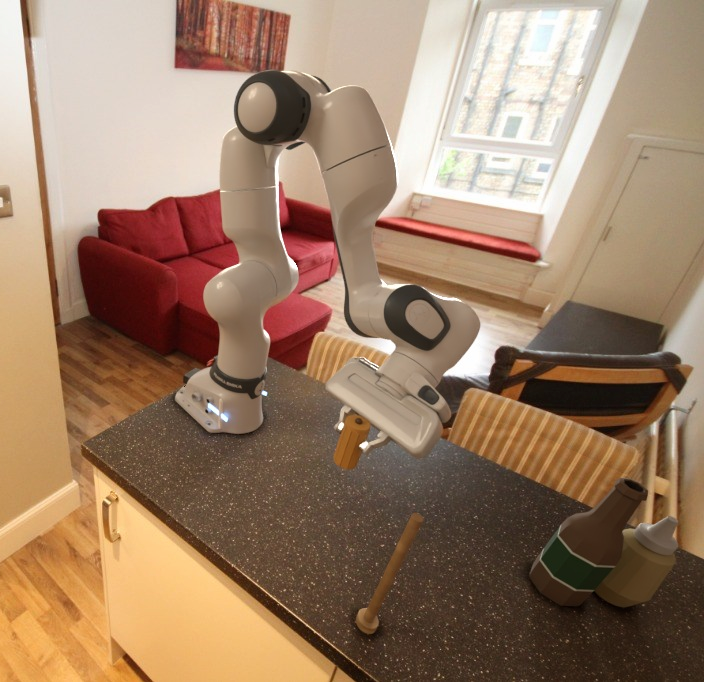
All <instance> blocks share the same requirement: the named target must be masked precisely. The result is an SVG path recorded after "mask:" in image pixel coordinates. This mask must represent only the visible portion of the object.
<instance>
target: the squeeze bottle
mask: <svg viewBox="0 0 704 682" xmlns="http://www.w3.org/2000/svg"><path fill="white" fill-rule="evenodd" d="M678 524H679V520H678V519H677V518H675V517H674V516H672V515H668V516H666V517H664V518H662V519H661V520H659V521H657V522H656V523H654V524H652V523H650V522H641V523H639V524H638V525H637V527H635V528H625V529H623V531H622V532H623V536H624V542H623V550H622V556H621V559H620V560H619V562H618V563H617V565H616V566H615V567H614V568H613V570H612V571H611V572H610V573H609V574H608V575H607V576H606V578H605V579H604V580H603V581H602V582H601V583H600V584H599V585H598V587H597V588H596V589H595V590H594V591H593V592H594V593H595V595H597V596H598V597H599V598H601V599H602V600H604V601H605V602H606V603H608V604H611V605H613V606H615V607H619V608H628V607H632V606H635V605H638V604H643V603H646V602H649V601H650V600H651V599H652V598H653V596H654V594H655V593H656V592H657V590H658V589H659V587H660V586H661V585H662V583H663V582H664V581H665V578H666V577H667V576H668V575H669V573H670V571H672V569H673V567H674V566H675V564H676V563H677V558H676V555H675V553H674V552H676V550H678V548H679V543H678V540H677V539H676V538H675V537H674V534H675V531H676V529H677V526H678Z"/></svg>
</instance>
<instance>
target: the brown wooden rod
mask: <svg viewBox="0 0 704 682" xmlns="http://www.w3.org/2000/svg"><path fill="white" fill-rule="evenodd" d="M424 519H425V518H424V516H423V515H421V514H420V513H418V512H413V513H411V515H410V517H409V519H408V521H407V523H406V526H405V527H404V530H403V532H402V534H401V536H400V538H399V540H398V542H397V545H396V547H395V549H394V551H393V553H392V555H391V557H390V559H389V561H388V564H387V565H386V568H385V571H384V572H383V574H382V576H381V578H380V580H379V583H378V584H377V587H376V588H375V591H374V593H373V595H372V597H371V600H370V601H369V603H368V605H367V608H365V607H364V608H361V609H359V610H358V612H357V614H356V616H355V624H356V626H357V628H358V629H359V630H360V631H361V632H362V633H364V634H366V635H372V634H375V632H376V631H377V629H378V627H379V624H380V621H379V617H378V612H379V611H380V609H381V606H382V605H383V603H384V601H385V598H386V596H387V595H388V593H389V592H390V588H391V587H392V585H393V583H394V580H395V579H396V576H397V574H398V573H399V571H400V569H401V567H402V565H403V563H404V561H405V558H406V556H407V555H408V552H409V551H410V548H411V547H412V544H413V542H414V541H415V539H416V537H417V535H418V532H419V531H420V529H421V527H422V525H423V523H424V521H425V520H424Z"/></svg>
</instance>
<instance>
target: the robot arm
mask: <svg viewBox="0 0 704 682" xmlns="http://www.w3.org/2000/svg"><path fill="white" fill-rule="evenodd" d="M233 117H234V123H235V125H236V126H234V127H232V128H231V129H229V130H227V132H226V133H225V134H224V135H223V137H222V140H221V146H220V155H219V170H218V172H219V174H218V175H219V181H218V182H219V199H220V213H221V227H222V228H221V229H222V231H223V234H224V235H225V237H227V238H228V239H229V240H231V241H232V242H233V244H234V246H235V249H236V252H237V254H238V261H239V262H238V264H234V265H232V266H230V267H226V268H224V269H222V270H221V271H220V272H219V273H217V274H216V275H214V276H213V277H212V278H211V279H210V280H208V281H207V283H206V284H205V287H204V289H203V292H202V293H203V294H202V298H203V304H204V307H205V309H206V312H207V313H208V315H209V316H210V317H211V318H212V319H213V320H214V321H215V322H217V325H218V329H219V330H218V331H219V343H218V351H217V352H218V353H217V355H215V356H214V357H212V358H211V359H210V360H209V361H207V362H206V367H205V368H202V369H200V368H198V367H194V368H193V369H191V370H190V371H188V372H186V373H185V374H183V377H182V383H183V384H185V385H186V386H185V385H183V386H182V387H180V388H179V389H178V390H177V392H176V394H175V396H174V401H175V402H176V403H177V404H178V405H179V406H180V407H181V408H182V409H183V410H184V411H185V412H187V413H188V415H190V416H191V417H192V418H193V419H194V420H195V421H196V422H197V423H198V424H199V425H200V426H201V427H202V428H203V429H205V430H206V431H207V432H208V433H211V434H217V433H228V434H234V435H239V434H241V435H242V434H247V433H251V432H254V431H256V430H257V429H258V428H260V427H261V425H262V424H263V422H264V414H263V405H262V400H263V396H267V395H268V392H267V391H264V388H265V385H266V379H267V373H268V368H267V364H268V363H267V362H268V358H269V354H270V353H269V352H270V346H271V337H270V335H269V333H268V332H267V331H266V329H264V318H265V315H266V313H267V312H268V310H269V309H271V308H273V307H274V306H276V305H279V304H280V303H282V302H284V301H285V300H286V299H287V298H288V297H289V296H291V294H292V293H293V292H294V291H295V289H296V287H297V285H298V284H299V281H300V280H299V279H300V275H299V274H300V273H299V269H298V267H297V265H296V263H295V262H294V260H293V259H292V258H291V257H290V256H289V255H288V252H287V249H286V246H285V243H284V239H283V235H282V231H281V223H280V201H279V172H278V171H279V160H280V157H281V154H282V153H283V152H284V150H288V151H292V150H293V149H295V148H298V147H299V146H302V145H304V144H307V145H308V146H309V147H310V148H311V150H312V152H313V155H314V156H315V159H316V162H317V166H318V169H319V173H320V175H321V179H322V182H323V186H324V190H325V193H326V197H327V201H328V206H329V208H330V209H329V211H330V217H331V226H332V233H333V238H334V243H335V248H336V253H337V258H338V261H339V266H340V270H341V276H342V279H343V285H344V301H343V317H344V320H345V323H346V325H347V327H348V328H349V329H350V331H352V332H353V333H354V334H356V335H357V336H359V337H361V338H365V339H382V340H383V339H384V340H388V341H391V342H392V343H393V344H394V345H395V348H394V350H393V351H392V352H391V354H390V355H389V356H388V357H387V358H386V359H385V360H384V362H383V363H382V364H381V365H380V366H379V365H377V364H375V363H373V362H371V361H369V360H368V359H367V358H366V357H364V356H360V357H359V356H354V357H350V358H348V359H347V361H346V362H345V363H344V364H343V366H342V367H341V368H340V369H338V370H337V371H336V372H335V373H334V374H333V375H332V376H331V377H330V378H328V380H327V381H326V382H325V391H326V392H327V393H328V394H329V395H330V396H331V397H332V398H334V399H335V400H336V401H337V402H339V403H341V404H342V405H343V406H342V408H340V411H339V412H340V413H339V418H338V421H337V423H335V425H334V426H333V430H334V431H335V432H337V433H338V434H339V435H341V432H342V429H343V426H344V422H345V421H346V418H347V417H348V416H349V415H359V416H362V417H363V418H365V419H366V420H368V421H369V422H370V425H371V427H373V428H374V429H375V430H377V431H378V433H377V434H376V436H377V438H376V439H374V440H371V441H367V440H366V441H365V440H364V441H363V442H362V444H361V445H359V447H358V449H359V450H360V451H362V453H363V454H364V455H365V456H369V455H370V454H371V452H373V450H374V449H378V448H382V447H386V446H387V445H388V444H389V443H390V442H391V441H392V442H393V443H394V444H396V445H397V446H398V447H400V448H401V449H403V450H404V451H405V452H406V453H408V454H409V455H410V456H412V457H413V458H415V459H416V460H419V459H425V458H426V457H428V455H429V454H430V453H431V452H432V450H433V449H434V448H435V446H436V445H437V444H438V442H439V440H440V439H441V437H442V435H443V432H444V426H443V424H445V423H447V422H448V421H449V420H450V419H451V418H452V412H451V409H450V406H449V404H448V402H447V400H446V399H445V398H444V397H443V396H442V394H441V393H439V391H438V390H437V389H436V387H438V385H439V384H440V383H441V380H442V378H443V376H444V375H445V373H446V372H448V371H449V370H450V369H452V368H454V367H455V366H456V365H457V364H458V362H460V361H461V359H463V357H464V356H465V355H466V353H467V352H468V351H469V350H470V348H471V347H472V345H473V344H474V343H475V341H476V339H477V338H478V335H479V333H480V330H481V320H480V317H479V316H478V314H477V313H476V312H475V310H474V309H473V308H472V307H471V306H470V305H468V304H467V303H466V302H465V301H462V300H460V299H458V298H455V297H442V296H440V295H436V294H434V293H432V292H430V290H428V289H427V288H426V287H424V286H421V285H419V284H412V283H393V284H386V283H385V282H384V281H383V279H381V276H380V273H379V267H378V263H377V257H376V252H375V247H374V242H373V232H374V228H375V225H376V223H377V221H378V219H379V217H380V216H381V214H382V213H383V212H384V211H385V209H386V208H387V207H388V206H389V205H390V203H391V201H392V200H393V199H394V197H395V194H396V192H397V189H398V185H399V173H398V166H397V159H396V156H395V153H394V149H393V146H392V142H391V139H390V136H389V133H388V130H387V128H386V124H385V122H384V120H383V118H382V115H381V113H380V111H379V109H378V107H377V104H376V103H375V101H374V99H373V97H372V95H371V93H370V92H369V91H368V90H367V89H366V88H364V87H362V86H360V85H344V86H341V87H338V88H335V89H333V90H332V88H331V87H330V86H329V84H327V82H325V80H323V79H322V78H321V77H319V76H316V75H310V74H309V73H305V72H303V71H298V70H278V69H266V70H262V71H259V72H256V73H254V74H252V75H251V76H249V77H248V78H247V79H246V80H244V82H242V84H241V85H240V87H239V89H238V90H237V93H236V95H235V99H234V104H233ZM184 386H185V387H184Z"/></svg>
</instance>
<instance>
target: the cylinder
mask: <svg viewBox="0 0 704 682" xmlns="http://www.w3.org/2000/svg"><path fill="white" fill-rule="evenodd" d="M371 427H372V426H371V425H370V422H369V421H368V420H366V419H365V418H363V417H362V416H359V415H357V414H353V415H349V416H348V417H347V418H346V421H345V422H344V426H343V429H342V432H341V434H339V438H338V441H337V444H336V447H335V451H334V453H333V462H334V464H336V465H337V466H338V467H339V468H341V469H344V470H347V471H348V470H355V469H356V467H357V466H358V463H359V461H360V459H361V455H362V453H363V452H362V451H360V450H359V449H358V447H359V445H361V444H362V442H363V441H364V440H365V441H367V439H368V437H369V434H370V431H371Z"/></svg>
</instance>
